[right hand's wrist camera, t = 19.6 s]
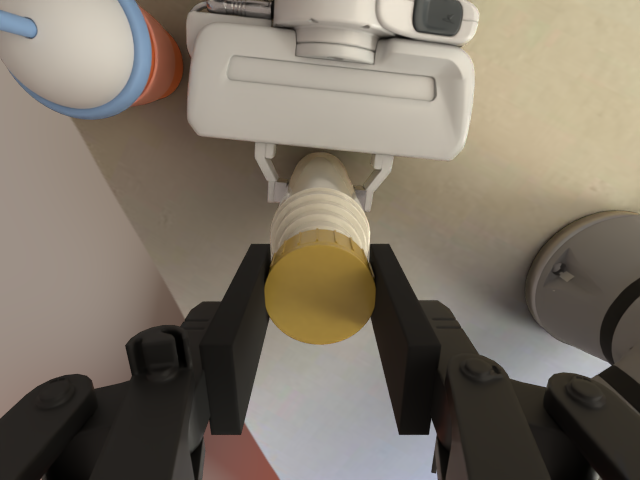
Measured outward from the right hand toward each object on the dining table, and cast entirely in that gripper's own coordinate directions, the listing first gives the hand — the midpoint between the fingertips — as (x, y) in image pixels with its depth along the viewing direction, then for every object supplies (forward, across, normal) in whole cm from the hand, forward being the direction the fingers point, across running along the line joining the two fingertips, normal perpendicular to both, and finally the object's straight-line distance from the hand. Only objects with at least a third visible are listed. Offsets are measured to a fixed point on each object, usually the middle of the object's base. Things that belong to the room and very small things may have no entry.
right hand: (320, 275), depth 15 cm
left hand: (+15, 0, -1) cm, 15 cm away
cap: (-2, 0, 0) cm, 2 cm away
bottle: (+22, 0, 0) cm, 22 cm away
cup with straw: (+22, -15, +10) cm, 28 cm away
